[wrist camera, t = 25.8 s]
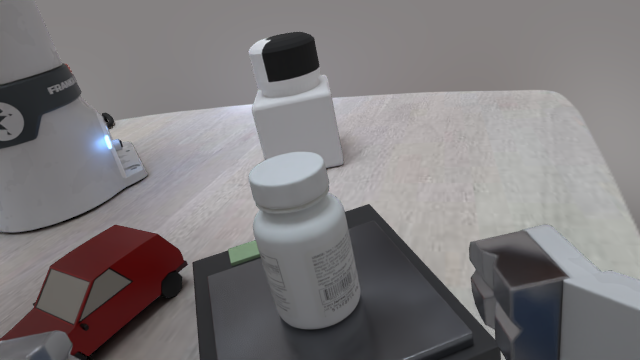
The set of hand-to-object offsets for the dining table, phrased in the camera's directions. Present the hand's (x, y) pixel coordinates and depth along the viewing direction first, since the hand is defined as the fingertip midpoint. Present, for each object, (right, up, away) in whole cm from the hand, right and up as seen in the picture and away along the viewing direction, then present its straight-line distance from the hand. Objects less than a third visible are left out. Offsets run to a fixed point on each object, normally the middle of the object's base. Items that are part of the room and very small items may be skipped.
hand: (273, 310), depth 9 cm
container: (-1, +5, +41) cm, 41 cm away
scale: (+1, -6, +17) cm, 18 cm away
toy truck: (-13, -7, +21) cm, 26 cm away
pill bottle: (+1, -4, +14) cm, 15 cm away
